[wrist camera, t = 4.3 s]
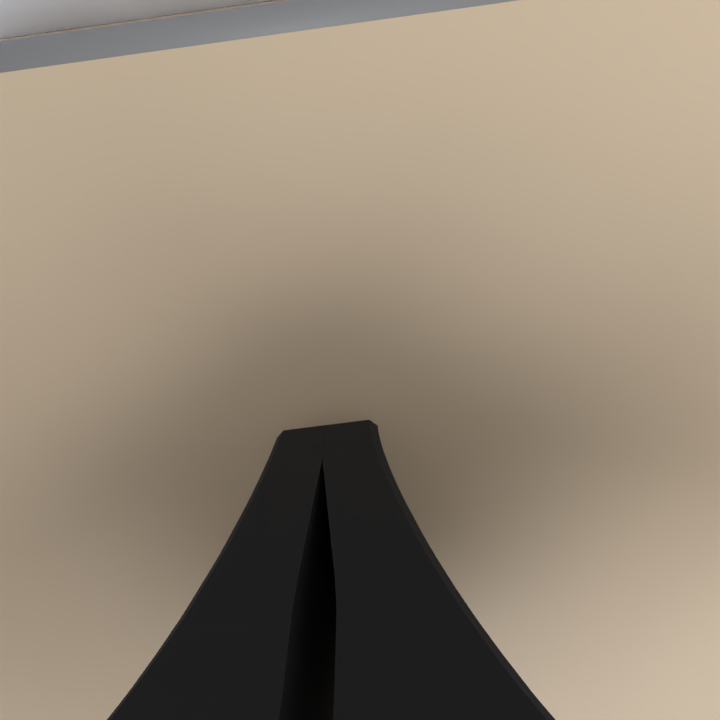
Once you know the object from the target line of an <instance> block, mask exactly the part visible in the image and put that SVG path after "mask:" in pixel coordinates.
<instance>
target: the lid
mask: <svg viewBox="0 0 720 720" xmlns="http://www.w3.org/2000/svg"><path fill="white" fill-rule="evenodd" d="M362 420H370V421H372V422H373V423H375V424H376V425H378V431H379V437H380V440H381V444H382V448H383V451H384V454H385V456H386V459H387V462H388V464H389V467H390V469H391V471H392V474H393V476H394V478H395V481H396V483H397V485H398V487H399V490H400V492H401V494H402V496H403V498H404V500H405V502H406V504H407V506H408V507H409V509H410V511H411V513H412V515H413V517H414V519H415V520H416V522H417V524H418V526H419V528H420V530H421V532H422V533H423V535H424V537H425V539H426V540H427V542H428V544H429V546H430V547H431V549H432V551H433V552H434V554H435V556H436V557H437V559H438V561H439V562H440V564H441V565H442V567H443V569H444V570H445V572H446V573H447V575H448V576H449V578H450V580H451V581H452V583H453V584H454V586H455V587H456V589H457V590H458V592H459V593H460V595H461V596H462V598H463V599H464V601H465V602H466V604H467V605H468V607H469V608H470V610H471V611H472V613H473V614H474V615H475V617H476V618H477V620H478V621H479V623H480V624H481V625H482V627H483V628H484V629H485V631H486V632H487V634H488V635H489V636H490V638H491V639H492V640H493V642H494V643H495V644H496V646H497V647H498V649H499V650H500V651H501V653H502V654H503V655H504V657H505V658H506V659H507V660H508V662H509V663H510V664H511V666H512V667H513V668H514V669H515V671H516V672H517V673H518V675H519V676H520V677H521V678H522V680H523V681H524V682H525V683H526V685H527V686H528V687H529V689H530V690H531V691H532V692H533V694H534V695H535V696H536V697H537V699H538V700H539V701H540V702H541V703H542V705H543V706H544V707H545V708H546V709H547V710H548V712H549V713H550V714H551V715H552V716H553V717H554V719H555V720H720V0H290V1H283V2H276V3H269V4H262V5H255V6H248V7H240V8H233V9H226V10H219V11H212V12H205V13H198V14H191V15H184V16H177V17H170V18H163V19H156V20H149V21H142V22H134V23H127V24H120V25H113V26H106V27H99V28H92V29H85V30H78V31H71V32H64V33H57V34H50V35H43V36H36V37H28V38H21V39H14V40H7V41H0V720H107V719H108V718H109V716H110V715H111V714H112V713H113V711H114V710H115V709H116V707H117V706H118V705H119V704H120V702H121V701H122V700H123V698H124V697H125V696H126V695H127V693H128V692H129V691H130V689H131V688H132V687H133V685H134V684H135V683H136V681H137V680H138V678H139V677H140V676H141V674H142V673H143V671H144V670H145V669H146V667H147V666H148V665H149V663H150V662H151V660H152V659H153V658H154V656H155V655H156V653H157V652H158V651H159V649H160V648H161V646H162V645H163V643H164V642H165V640H166V639H167V637H168V636H169V634H170V633H171V631H172V630H173V628H174V627H175V625H176V624H177V623H178V621H179V620H180V618H181V616H182V615H183V613H184V612H185V610H186V609H187V607H188V605H189V604H190V602H191V601H192V599H193V597H194V596H195V594H196V592H197V591H198V589H199V587H200V586H201V584H202V583H203V581H204V579H205V578H206V576H207V574H208V573H209V571H210V570H211V568H212V566H213V565H214V563H215V561H216V560H217V558H218V556H219V554H220V553H221V551H222V549H223V547H224V546H225V544H226V542H227V540H228V538H229V536H230V534H231V533H232V531H233V529H234V527H235V525H236V523H237V521H238V520H239V518H240V516H241V514H242V512H243V510H244V508H245V507H246V505H247V503H248V501H249V499H250V497H251V495H252V492H253V490H254V488H255V486H256V484H257V482H258V480H259V478H260V476H261V474H262V472H263V470H264V467H265V465H266V463H267V461H268V458H269V456H270V454H271V451H272V449H273V447H274V444H275V442H276V439H277V437H278V436H279V435H280V434H281V433H282V431H283V430H290V429H298V428H306V427H314V426H322V425H330V424H338V423H346V422H354V421H362Z"/></svg>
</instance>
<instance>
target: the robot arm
mask: <svg viewBox="0 0 720 720" xmlns="http://www.w3.org/2000/svg"><path fill="white" fill-rule="evenodd" d="M107 720H555V719H554V717H553V716H552V715H551V714H550V713H549V712H548V710H547V709H546V708H545V707H544V706H543V705H542V703H541V702H540V701H539V700H538V699H537V697H536V696H535V695H534V694H533V692H532V691H531V690H530V689H529V687H528V686H527V685H526V683H525V682H524V681H523V680H522V678H521V677H520V676H519V675H518V673H517V672H516V671H515V669H514V668H513V667H512V666H511V664H510V663H509V662H508V660H507V659H506V658H505V657H504V655H503V654H502V653H501V651H500V650H499V649H498V647H497V646H496V644H495V643H494V642H493V640H492V639H491V638H490V636H489V635H488V634H487V632H486V631H485V629H484V628H483V627H482V625H481V624H480V623H479V621H478V620H477V618H476V617H475V615H474V614H473V613H472V611H471V610H470V608H469V607H468V605H467V604H466V602H465V601H464V599H463V598H462V596H461V595H460V593H459V592H458V590H457V589H456V587H455V586H454V584H453V583H452V581H451V580H450V578H449V576H448V575H447V573H446V572H445V570H444V569H443V567H442V565H441V564H440V562H439V561H438V559H437V557H436V556H435V554H434V552H433V551H432V549H431V547H430V546H429V544H428V542H427V540H426V539H425V537H424V535H423V533H422V532H421V530H420V528H419V526H418V524H417V522H416V520H415V519H414V517H413V515H412V513H411V511H410V509H409V507H408V506H407V504H406V502H405V500H404V498H403V496H402V494H401V492H400V490H399V487H398V485H397V483H396V481H395V478H394V476H393V474H392V471H391V469H390V467H389V464H388V462H387V459H386V456H385V454H384V451H383V448H382V444H381V440H380V437H379V431H378V425H376V424H375V423H373V422H372V421H370V420H362V421H354V422H346V423H338V424H330V425H322V426H314V427H306V428H298V429H290V430H283V431H282V433H281V434H280V435H279V436H278V437H277V439H276V442H275V444H274V447H273V449H272V451H271V454H270V456H269V458H268V461H267V463H266V465H265V467H264V470H263V472H262V474H261V476H260V478H259V480H258V482H257V484H256V486H255V488H254V490H253V492H252V495H251V497H250V499H249V501H248V503H247V505H246V507H245V508H244V510H243V512H242V514H241V516H240V518H239V520H238V521H237V523H236V525H235V527H234V529H233V531H232V533H231V534H230V536H229V538H228V540H227V542H226V544H225V546H224V547H223V549H222V551H221V553H220V554H219V556H218V558H217V560H216V561H215V563H214V565H213V566H212V568H211V570H210V571H209V573H208V574H207V576H206V578H205V579H204V581H203V583H202V584H201V586H200V587H199V589H198V591H197V592H196V594H195V596H194V597H193V599H192V601H191V602H190V604H189V605H188V607H187V609H186V610H185V612H184V613H183V615H182V616H181V618H180V620H179V621H178V623H177V624H176V625H175V627H174V628H173V630H172V631H171V633H170V634H169V636H168V637H167V639H166V640H165V642H164V643H163V645H162V646H161V648H160V649H159V651H158V652H157V653H156V655H155V656H154V658H153V659H152V660H151V662H150V663H149V665H148V666H147V667H146V669H145V670H144V671H143V673H142V674H141V676H140V677H139V678H138V680H137V681H136V683H135V684H134V685H133V687H132V688H131V689H130V691H129V692H128V693H127V695H126V696H125V697H124V698H123V700H122V701H121V702H120V704H119V705H118V706H117V707H116V709H115V710H114V711H113V713H112V714H111V715H110V716H109V718H108V719H107Z"/></svg>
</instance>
